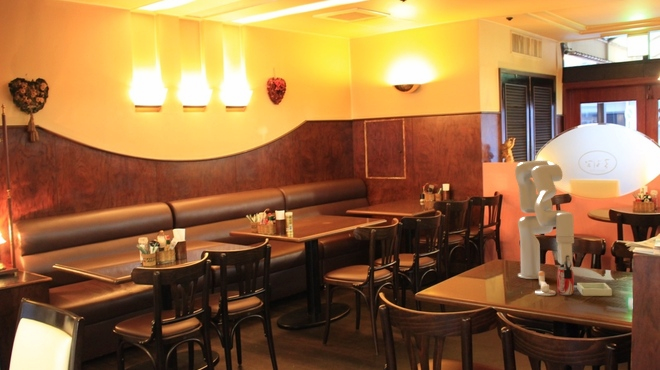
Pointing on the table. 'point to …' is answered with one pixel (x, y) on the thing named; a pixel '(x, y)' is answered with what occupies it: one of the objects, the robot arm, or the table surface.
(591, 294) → the tray
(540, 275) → the crank
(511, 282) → the table surface
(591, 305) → the table surface
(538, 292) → the crank base
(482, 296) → the table surface
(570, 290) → the soda can
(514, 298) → the table surface
